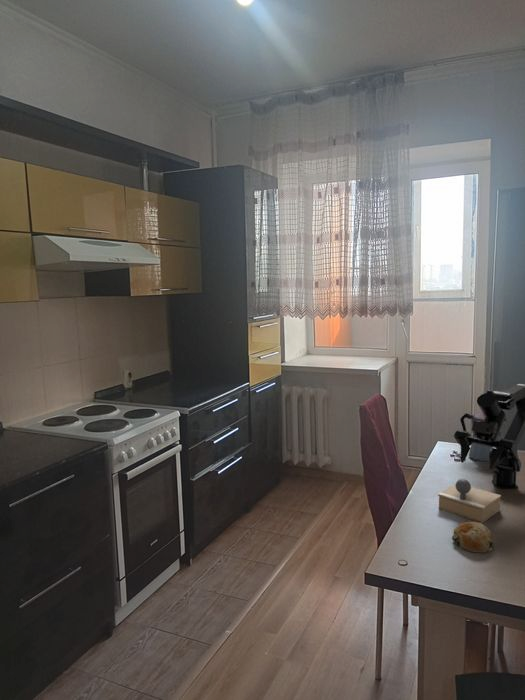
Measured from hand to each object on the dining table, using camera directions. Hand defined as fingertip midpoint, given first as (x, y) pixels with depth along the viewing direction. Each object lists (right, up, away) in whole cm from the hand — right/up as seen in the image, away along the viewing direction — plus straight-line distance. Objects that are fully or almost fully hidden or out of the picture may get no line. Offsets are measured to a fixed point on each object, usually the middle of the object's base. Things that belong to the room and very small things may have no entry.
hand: (475, 465), depth 163 cm
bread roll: (-10, -17, -21) cm, 29 cm away
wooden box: (-2, -14, -1) cm, 14 cm away
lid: (-2, -9, -1) cm, 10 cm away
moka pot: (+20, -7, +44) cm, 49 cm away
